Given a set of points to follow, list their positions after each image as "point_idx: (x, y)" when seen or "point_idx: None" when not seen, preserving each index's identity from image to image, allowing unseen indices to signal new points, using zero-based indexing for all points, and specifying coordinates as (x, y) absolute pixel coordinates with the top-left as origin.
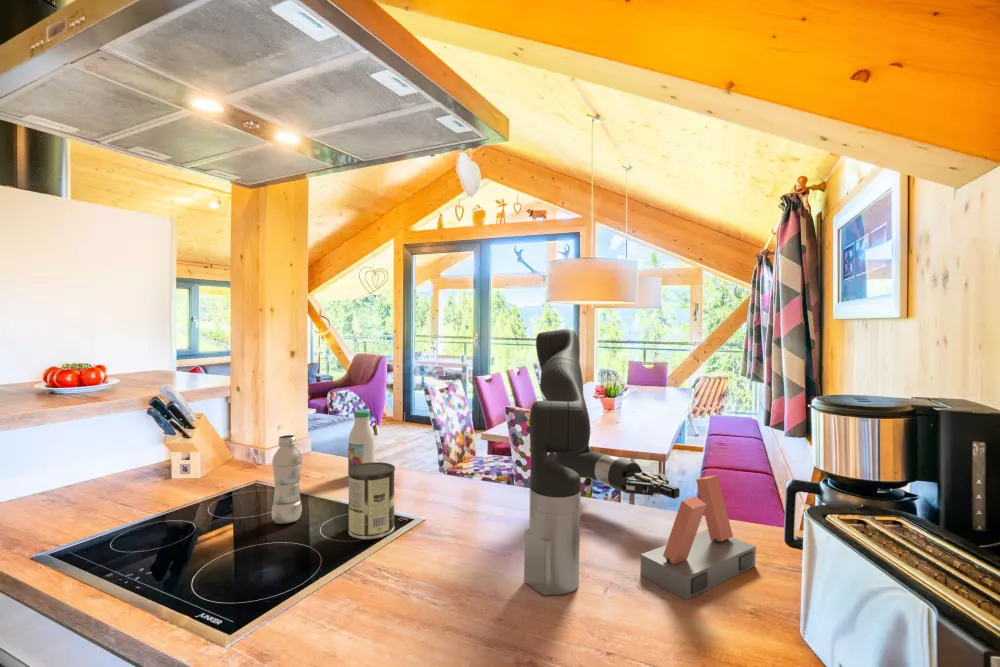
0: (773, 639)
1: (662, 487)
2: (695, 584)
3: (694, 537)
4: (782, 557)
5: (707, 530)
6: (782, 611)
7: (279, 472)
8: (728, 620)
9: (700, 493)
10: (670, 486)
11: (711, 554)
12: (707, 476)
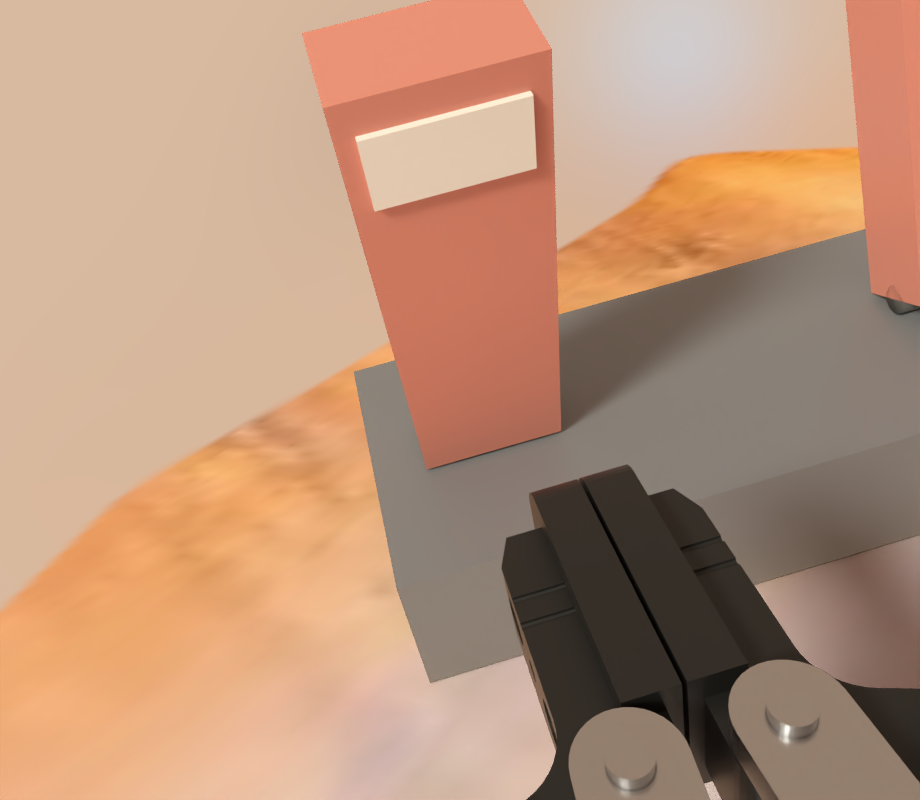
0: (721, 185)
1: (756, 630)
2: None
3: (860, 134)
4: (156, 506)
5: (444, 564)
6: (579, 255)
7: None
8: (812, 229)
9: (551, 169)
10: (625, 551)
11: (679, 328)
12: (333, 100)
